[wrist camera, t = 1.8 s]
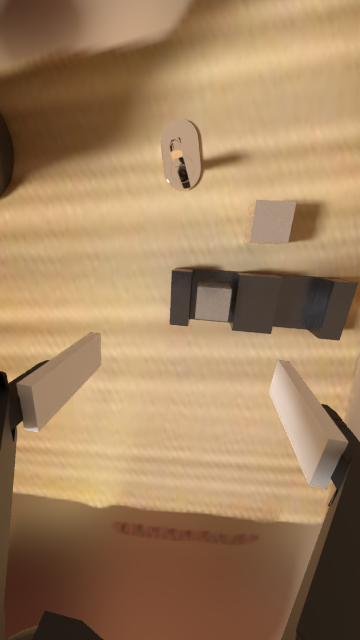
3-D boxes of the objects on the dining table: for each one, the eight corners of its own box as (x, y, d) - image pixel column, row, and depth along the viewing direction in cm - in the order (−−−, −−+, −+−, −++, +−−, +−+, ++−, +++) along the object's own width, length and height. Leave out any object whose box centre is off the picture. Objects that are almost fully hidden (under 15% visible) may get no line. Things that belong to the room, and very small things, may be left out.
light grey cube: (198, 281, 33) (197, 286, 28) (228, 283, 32) (231, 289, 28) (196, 309, 34) (194, 318, 29) (224, 311, 34) (227, 321, 29)
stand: (196, 116, 27) (202, 187, 29) (158, 125, 28) (167, 194, 30) (192, 68, 20) (201, 167, 22) (141, 81, 20) (155, 176, 23)
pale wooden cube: (248, 208, 29) (256, 200, 25) (282, 209, 29) (296, 201, 24) (243, 242, 31) (250, 241, 26) (275, 244, 30) (288, 243, 26)
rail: (176, 267, 33) (171, 270, 29) (339, 278, 31) (357, 282, 27) (173, 316, 36) (169, 324, 32) (324, 330, 33) (339, 340, 29)
